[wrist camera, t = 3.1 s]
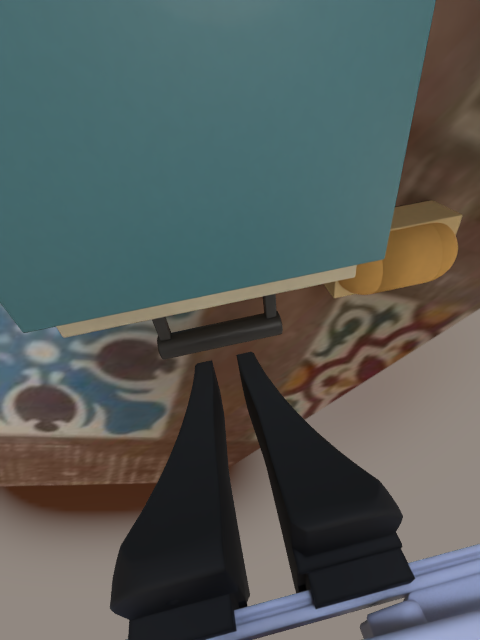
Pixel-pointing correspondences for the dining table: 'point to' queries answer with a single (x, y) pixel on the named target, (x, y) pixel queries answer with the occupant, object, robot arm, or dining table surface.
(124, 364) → the dining table surface
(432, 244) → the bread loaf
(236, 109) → the cabinet
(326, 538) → the robot arm
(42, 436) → the dining table surface
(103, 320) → the drawer
